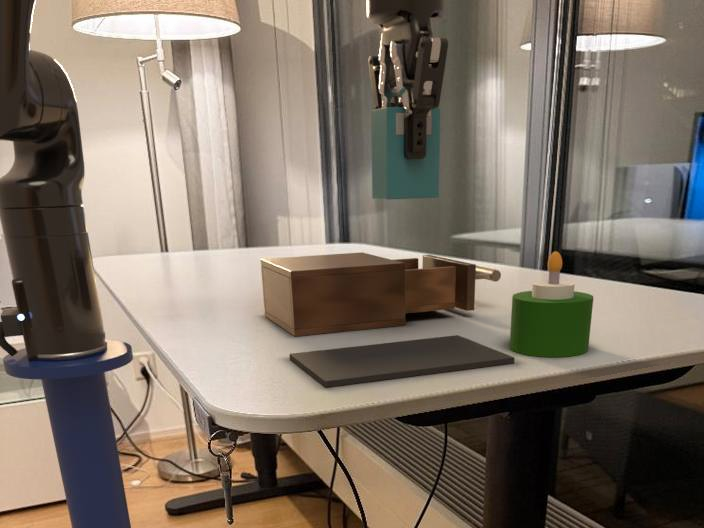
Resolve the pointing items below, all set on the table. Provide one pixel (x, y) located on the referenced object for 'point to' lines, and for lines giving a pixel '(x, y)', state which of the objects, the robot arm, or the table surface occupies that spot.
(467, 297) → the drawer
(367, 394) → the table surface
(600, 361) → the table surface
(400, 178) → the teal labeled box
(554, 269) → the candle
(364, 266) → the cabinet
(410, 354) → the mat
